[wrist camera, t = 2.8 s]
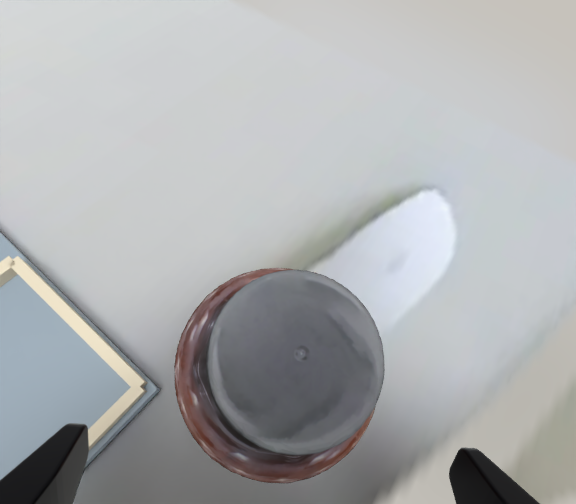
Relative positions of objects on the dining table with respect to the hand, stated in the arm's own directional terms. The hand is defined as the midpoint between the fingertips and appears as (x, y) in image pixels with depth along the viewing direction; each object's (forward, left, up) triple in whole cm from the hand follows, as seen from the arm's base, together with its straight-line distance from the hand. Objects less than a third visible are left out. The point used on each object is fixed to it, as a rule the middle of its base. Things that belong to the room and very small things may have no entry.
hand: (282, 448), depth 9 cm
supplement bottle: (+1, -2, -10) cm, 10 cm away
